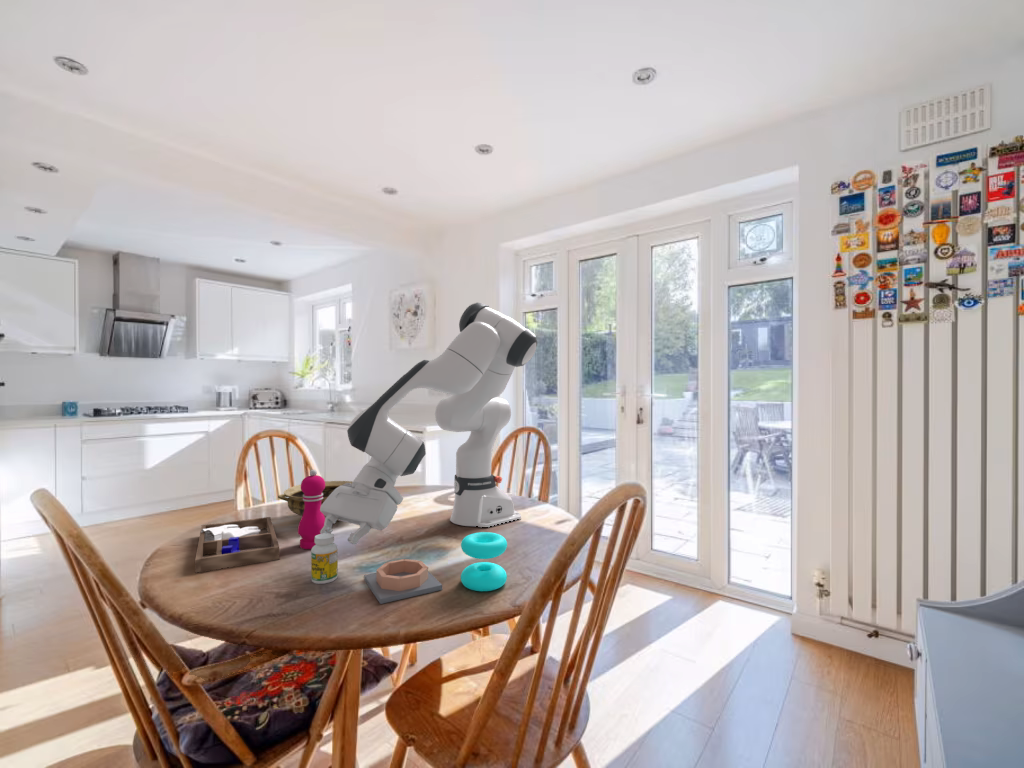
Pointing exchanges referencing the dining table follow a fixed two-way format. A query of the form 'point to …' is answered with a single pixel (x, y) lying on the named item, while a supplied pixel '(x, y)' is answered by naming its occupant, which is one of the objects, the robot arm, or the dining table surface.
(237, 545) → the cable holder
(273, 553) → the walnut compartment tray
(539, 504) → the dining table surface
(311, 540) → the pepper mill
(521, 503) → the dining table surface
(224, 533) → the white tapered wedge pair
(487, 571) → the donuts
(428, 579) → the collar holder
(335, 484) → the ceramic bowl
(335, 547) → the supplement bottle
